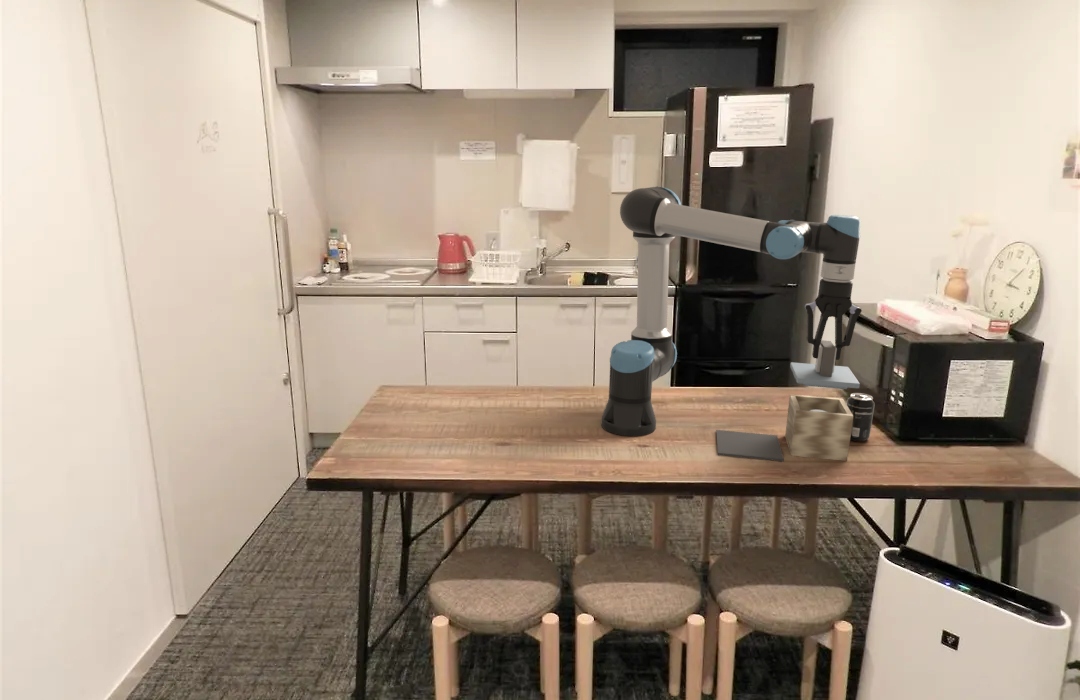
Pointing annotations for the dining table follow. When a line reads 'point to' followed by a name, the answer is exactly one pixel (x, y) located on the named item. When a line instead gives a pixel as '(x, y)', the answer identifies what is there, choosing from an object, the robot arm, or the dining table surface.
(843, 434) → the box
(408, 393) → the dining table surface
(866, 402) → the beverage can
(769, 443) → the mat
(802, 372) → the lid
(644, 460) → the dining table surface
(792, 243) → the robot arm
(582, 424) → the dining table surface
